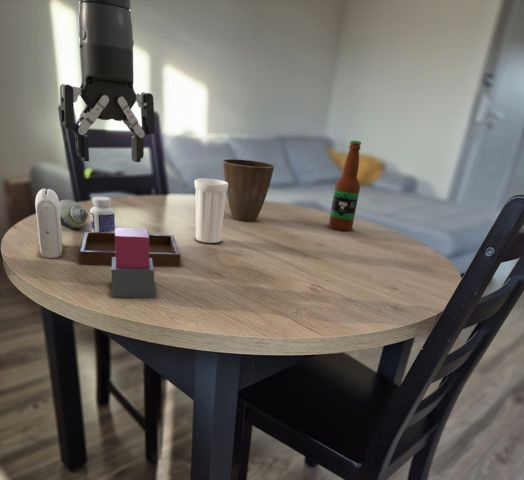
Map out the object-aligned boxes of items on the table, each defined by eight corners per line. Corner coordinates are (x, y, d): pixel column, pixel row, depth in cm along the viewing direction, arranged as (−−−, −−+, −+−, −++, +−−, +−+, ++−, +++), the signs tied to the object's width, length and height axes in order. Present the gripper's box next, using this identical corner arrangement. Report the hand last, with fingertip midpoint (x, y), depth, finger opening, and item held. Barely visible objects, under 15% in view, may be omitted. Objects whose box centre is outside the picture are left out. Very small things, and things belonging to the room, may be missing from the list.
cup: (190, 235, 123) (193, 177, 117) (222, 237, 125) (226, 179, 118) (193, 244, 116) (195, 183, 110) (226, 246, 118) (231, 185, 111)
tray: (80, 264, 96) (79, 251, 94) (85, 243, 108) (84, 231, 107) (179, 266, 101) (180, 254, 100) (173, 246, 113) (173, 235, 112)
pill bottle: (119, 236, 116) (118, 198, 112) (108, 241, 111) (106, 202, 107) (99, 232, 117) (97, 194, 112) (87, 237, 112) (84, 198, 108)
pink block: (116, 268, 81) (114, 236, 79) (116, 258, 86) (115, 227, 84) (149, 268, 83) (149, 237, 80) (147, 258, 88) (147, 228, 85)
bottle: (324, 228, 147) (339, 139, 135) (332, 224, 153) (347, 139, 141) (347, 233, 144) (364, 143, 133) (354, 228, 150) (371, 142, 139)
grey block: (112, 297, 83) (111, 269, 81) (112, 282, 89) (111, 256, 86) (153, 297, 85) (153, 270, 82) (151, 283, 91) (151, 257, 88)
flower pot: (209, 214, 147) (212, 158, 139) (247, 211, 156) (252, 159, 149) (239, 226, 137) (244, 167, 130) (278, 222, 146) (284, 167, 139)
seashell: (79, 226, 125) (83, 239, 115) (49, 214, 121) (51, 225, 111) (88, 204, 123) (93, 214, 114) (58, 190, 119) (61, 200, 110)
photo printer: (62, 258, 98) (57, 195, 92) (39, 258, 96) (32, 194, 90) (63, 243, 106) (58, 185, 100) (41, 243, 104) (35, 184, 99)
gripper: (141, 51, 77) (142, 158, 85) (48, 36, 69) (58, 156, 77) (162, 51, 72) (161, 165, 80) (64, 35, 64) (73, 164, 72)
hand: (111, 161), depth 78 cm, fingers open, 8 cm apart
